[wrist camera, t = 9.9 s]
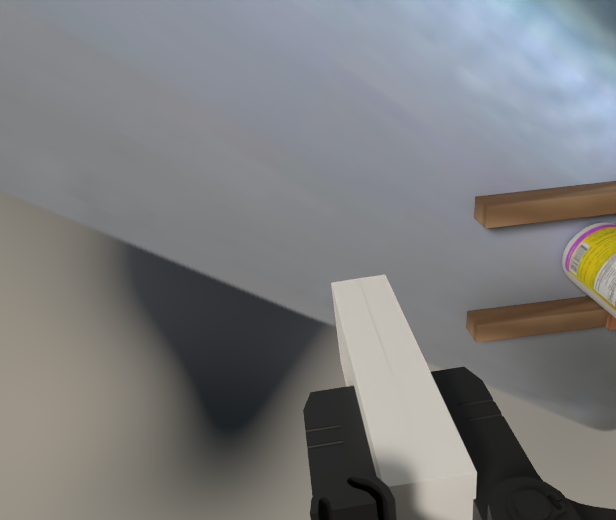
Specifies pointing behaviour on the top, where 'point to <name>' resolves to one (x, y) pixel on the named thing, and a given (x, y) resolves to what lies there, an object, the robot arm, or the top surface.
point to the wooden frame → (534, 210)
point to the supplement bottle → (594, 263)
